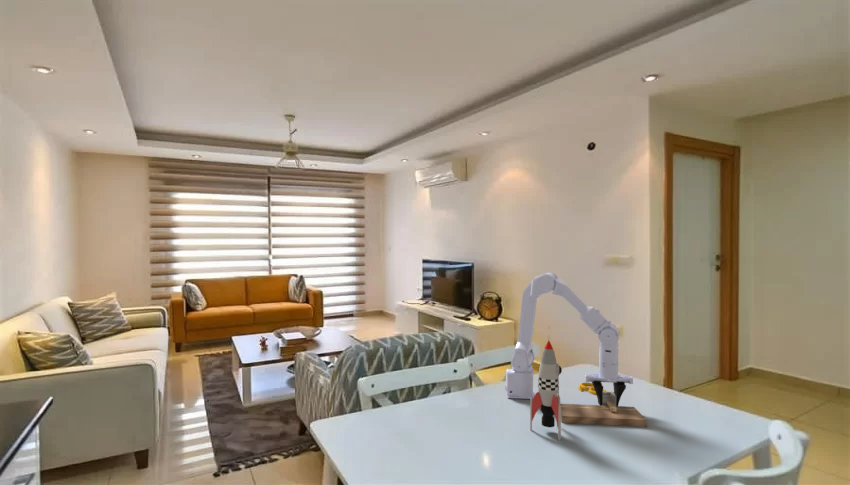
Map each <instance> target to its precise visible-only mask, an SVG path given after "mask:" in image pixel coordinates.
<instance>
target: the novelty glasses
mask: <svg viewBox="0 0 850 485" xmlns="http://www.w3.org/2000/svg"><path fill="white" fill-rule="evenodd" d="M578 390H579V391H580V392H582V391H583V392H584V391H585V392H587V391H588V393H589V394H591V395H594V396H597V394H596V391H595V389H594V386H593V384H592V382H581V383H580V384H579V385H578ZM603 392H607V390H606V389H605V388H603Z"/></svg>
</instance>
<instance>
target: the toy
mask: <svg viewBox="0 0 850 485" xmlns="http://www.w3.org/2000/svg"><path fill="white" fill-rule="evenodd" d="M548 328H550V325H548ZM542 350H543V351H542V356H541V359H540V365H539V369H538V379H537V381H538V382H537V388H538V392H536V393H534V395H535V396H534V398H533V399H532V390H531V398H530V399H529V402H530V404H529V405H530V406H529V410H530V411H529V415H530V417H529V419H530V420H529V430H530V431H533V430H532V429H533V420H534V418H535V416H536V413H537V412H538V411H539V409H540V411H541V414H542V416H541V425H542V427H545V428H553V427H555V422H556V427H557V430H558V431H557V433H558V434H557V437H558V438H557V439H558V441H561V440H562V439H561V438H562V437H561V433H562V432H561V431H562V429H561V428H562V425H561V424H562V421H561V406H560V404H561V397H560V383H559V382H560V381H559V376H560V375H561V374H562V371H563V368H562V367H561V365H560V364H559V363H557V359H556V355H555V350H554V347H553V346H552V343H551V341H550V336H548V340H547V342H546V344H545V347H544V348H543V349H542ZM554 416H555V417H554ZM555 420H556V421H555Z"/></svg>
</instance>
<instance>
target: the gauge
mask: <svg viewBox="0 0 850 485" xmlns="http://www.w3.org/2000/svg"><path fill="white" fill-rule="evenodd" d="M602 405H603V406H608V407H609V409H610V411H612V412H617V408H616V407H615V406H616V395H615V394H614V391H606V392H603V393H602Z"/></svg>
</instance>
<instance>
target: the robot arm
mask: <svg viewBox="0 0 850 485" xmlns="http://www.w3.org/2000/svg"><path fill="white" fill-rule="evenodd" d="M550 292H552V293H551V294H552V295H556V296H561V297H562V298H564V299H565V300H566V301H567V302H568V303H569V304H570V305H571V306H572V307H573V308H574V309H575V310H577V312H579V313H580V316H579V317H580V320H581V321H582V322H583V323H584V324H585V325H586V326H587V327H588V328H589V329H590V330H591V331H592V332H593V333H594V334H597V338H598V340H599V348H598V349H599V350H598V373H591V374H583V375H584V376H583V377H584V378H583V379H584V383H592V384H593V386H594V389H595V390H594V391H596V394H597V395H596V399H597V403H598V404H597V405H602V393H603V389H604V385H603V384H602V383H612V384H613V392H614V394H615V395H616V406H619V403H620V401H621V397H622V395H623V393H624V392H625V390H626V388H627V385H626V384H629V385H633V384H634V378H633V377H632V376H631V375H621V374H619V343H618V342H619V338H620V337H619V335H620V331H619V329H618V327H617V326H616V325H615V324H614V323H612V321H611V320H610V319H607V318H606V317H605V316H604V315H602V313H601V309H599V307H598V308H595V307H594V306H589V305H587V304H586V302H584V300H582V299H581V298H580V297H579V296H578V295H577V294H576V292H575V291H573V290H572V288H571V287H570V286H569V285H568V284H567V283H566V282H565V281H564V280H562V279H561V278H560V277H558V276H557V274H555V273H553V272H551V271H550V272H545V273H542V274H539V275H536V276H534V278H533V279H532V280H531V281H530V283H528V285H527V286H526V288H524V290H523V292H522V296H521V297H522V298H521V305H520V307H521V308H520V313H519V314H520V317H519V323H518V324H519V325H518V335H517V342H516V345H515V347H514V352H513V355H512V356H511V359H510V364H511V368H507V369H506V370H505V387H504V388H505V393H506V397H507V398H508V399H523V400H524V399H525V400H530V398H531V390H532V400H533V398H534V396H535V393H534V367H533V365H532V364H533V363H534V361H535V354H534V349H533V348H534V345H533V339H534V329H535V328H534V327H535V319H536V311H537V300H538V298H539V297H541V296H543V295H544V294H548V293H550Z"/></svg>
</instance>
